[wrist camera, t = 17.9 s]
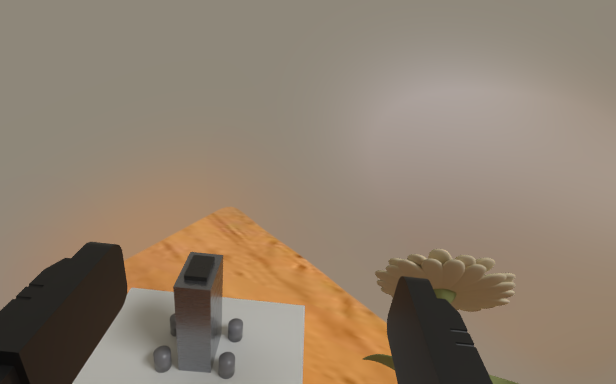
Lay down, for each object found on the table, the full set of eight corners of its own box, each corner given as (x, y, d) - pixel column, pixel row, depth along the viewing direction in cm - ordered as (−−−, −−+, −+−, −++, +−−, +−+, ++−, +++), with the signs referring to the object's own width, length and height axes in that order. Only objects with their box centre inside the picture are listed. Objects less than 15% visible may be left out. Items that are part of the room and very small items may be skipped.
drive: (221, 332, 40) (223, 251, 35) (210, 372, 36) (210, 286, 31) (193, 330, 40) (190, 247, 35) (178, 370, 36) (173, 282, 30)
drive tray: (303, 314, 46) (306, 294, 45) (298, 449, 32) (303, 426, 30) (132, 296, 45) (129, 275, 44) (49, 427, 31) (40, 402, 29)
